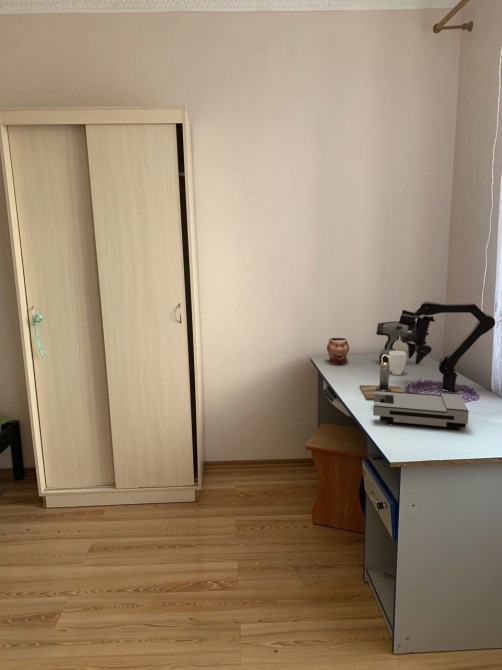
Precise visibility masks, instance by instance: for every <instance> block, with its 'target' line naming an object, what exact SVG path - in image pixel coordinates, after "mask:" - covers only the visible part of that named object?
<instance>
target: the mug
mask: <svg viewBox="0 0 502 670" xmlns="http://www.w3.org/2000/svg"><path fill="white" fill-rule="evenodd" d="M384 356H387V357H388V359H389V363H390V366H389V371H390V372H391V374H392V375H393V376H394V375H395V376H401V374H402V373H403V370H404V368H405V366H406V362H407V352H406V351H403V350H397V351H390V352H389V356H388V355H383V356H382V358H381V361H382V362H383V357H384Z"/></svg>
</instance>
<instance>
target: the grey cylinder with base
mask: <svg viewBox="0 0 502 670" xmlns="http://www.w3.org/2000/svg"><path fill="white" fill-rule="evenodd" d="M389 365H390V363H388V362H381V364H379V368H380V369H379V387H377V388H376V390H381V391H391V388H388V386H389V381H390V379H389V378H390V369H389V368H390V366H389Z"/></svg>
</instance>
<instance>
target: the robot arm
mask: <svg viewBox="0 0 502 670" xmlns="http://www.w3.org/2000/svg"><path fill="white" fill-rule="evenodd" d="M444 313H445V314H446V313H450V314H451V313H453V314H454V313H456V314H457V313H463V314H464V313H465V314H467V313H469V314H472V316H474V318H475V319H477V322H476V323H475V325H474V327H473V329H472V330H471V331H470V332H469V334H467V335H466V336H465V338H464V339H463V340H462V341H461V342H460V343H459V344H458V346H457V347H455V349H454V350H453V351H452V352H451V353H449V354H447V353H444V354H443V356H442V358H440V359H439V361H438V370H439V372H440V373H441V374H442V379H441V382H442V383H441V385H439V386H438V387H440V388H439V389H440V390H442V389H445V390H448V391H447V392H459V390H458V389H457V388H456V386H457V377H458V372H457V370H456V369H455V368H456V365H457V364H458V362H459V360H460V359H461V358H462V357H463V355H464V354H466V353H467V351H469V349H470V348H471V347H472V346H473V344H475V343H476V342H477V340H479V339H480V337H482V336H484V335H485V334H486V333H487V332H489V331H490V330H492V329H493V328H494V327H495V325H496V320H495V318H494V317H493V316H492V315H491V314H486V313H485V312H483V310H482V309H480V308H479V307H478V306H477V305H476V303H475V302H471V303H438V302H434V301H429V300H428V301H427V300H426V301H423V302H422V303H421V304H420V307H418V309H417V310H415V311H410V310H409V311H408V310H405V309H403V310H402V312H401V315H400V317H399V320H398V321H399V324H401V325H406V326H410V327H411V325H414V323H415V321H416V326H415V329H413V330H412V331H408V332H407V333H403V334H400V336H399V340H400V342H402V343H403V344H406V345H407V355H408V356H407V357H408V359H412V357H413V356H414V355H415V354H416V355H415V362H414V363H415V365H419V364H420V363H421V362H422V361H423V359H424V358H425V357H426V356H428V355H429V354H430V353H431V354H432V350H433V348H432V347H431V345H429V344H427V341H426V338H427V336H429V335H430V333H429V332H428V331H429V328H430V325H431V322H433V323H435V322H436V320H435V318H434V316H433V315H437V314H444Z"/></svg>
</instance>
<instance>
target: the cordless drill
mask: <svg viewBox="0 0 502 670" xmlns="http://www.w3.org/2000/svg"><path fill="white" fill-rule="evenodd" d="M399 321H400V320H397V321H396V320H395V321H385V322H379V323H377V326H376V327H377V328H376V331H375V333H376V335H377V336H386V337H387V341H386V342H385V345H384V348H383V349H382V350H381V351H380V354H379V358H378V360H379V361H378V362H379V365H380V364H381V362H382V361H381V358H382V356H383V355H388V356H389V352H390V351H398V350H397V349H394V344H395V342H397V341H399V340H400V334H403V333H408V332H412V330H413V329H415V326H416V322H417V320H415V323H414V325H411V327H410V326H406V325H401V324H399ZM383 362H388V363H389V359H388V357H387V356H384V357H383ZM389 367H390V365H389Z"/></svg>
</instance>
